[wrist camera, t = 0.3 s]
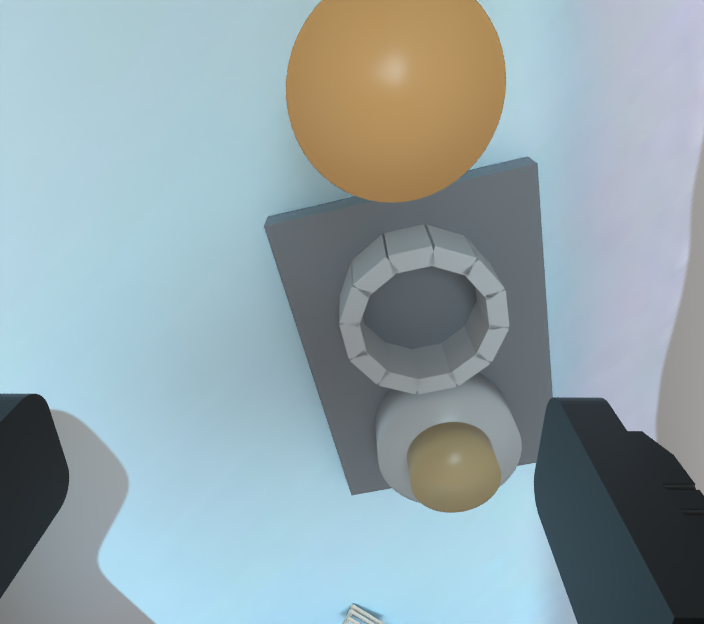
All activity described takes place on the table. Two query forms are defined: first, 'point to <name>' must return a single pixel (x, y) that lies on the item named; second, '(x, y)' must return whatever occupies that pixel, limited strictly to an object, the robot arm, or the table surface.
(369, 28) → the cylinder
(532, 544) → the table surface
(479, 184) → the housing
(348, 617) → the satellite
